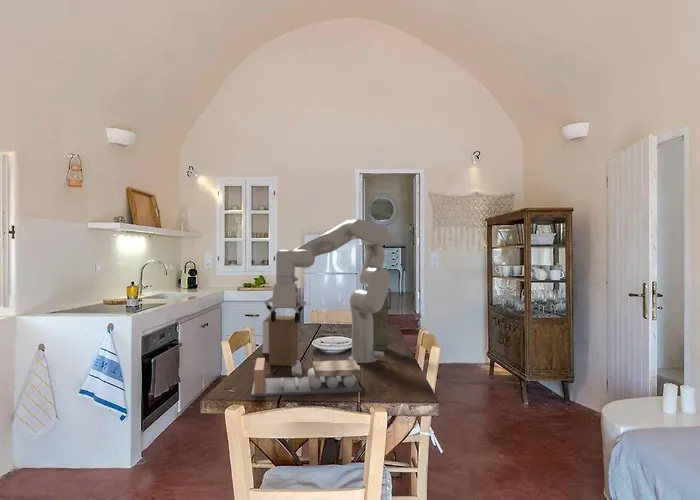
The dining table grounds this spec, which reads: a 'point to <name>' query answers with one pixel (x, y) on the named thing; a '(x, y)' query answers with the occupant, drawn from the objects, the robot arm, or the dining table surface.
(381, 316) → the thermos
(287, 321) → the wooden block
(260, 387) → the roller bed
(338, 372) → the slab
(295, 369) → the roller
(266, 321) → the milk carton
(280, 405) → the dining table surface
